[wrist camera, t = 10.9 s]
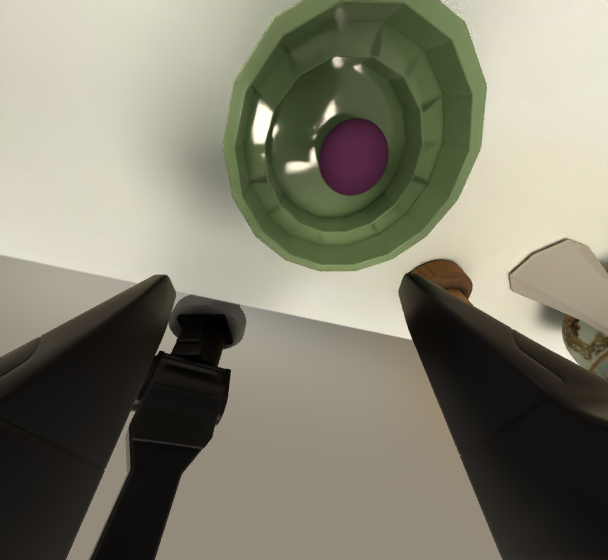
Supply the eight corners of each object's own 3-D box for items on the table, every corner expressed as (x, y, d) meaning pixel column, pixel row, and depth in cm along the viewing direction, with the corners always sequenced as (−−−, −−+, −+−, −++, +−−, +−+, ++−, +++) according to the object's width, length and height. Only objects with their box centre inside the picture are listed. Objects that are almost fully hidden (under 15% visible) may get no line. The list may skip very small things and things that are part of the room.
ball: (357, 182, 18) (393, 200, 15) (307, 188, 17) (335, 209, 14) (367, 115, 16) (414, 120, 12) (308, 116, 14) (344, 122, 11)
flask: (523, 301, 28) (610, 381, 20) (495, 275, 25) (585, 356, 17) (596, 262, 24) (737, 341, 16) (573, 226, 21) (731, 301, 14)
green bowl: (398, 232, 21) (426, 271, 17) (257, 232, 21) (246, 272, 16) (462, 22, 13) (556, -18, 8) (229, 16, 12) (189, -29, 8)
